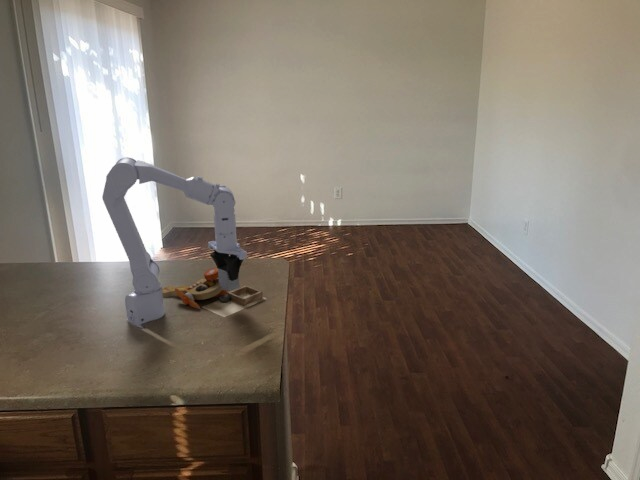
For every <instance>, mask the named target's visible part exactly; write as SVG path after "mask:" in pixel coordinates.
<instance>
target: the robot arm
mask: <svg viewBox="0 0 640 480" xmlns="http://www.w3.org/2000/svg"><path fill="white" fill-rule="evenodd" d="M105 178H106V179H105V182H104V183H105V184H104V186H103V187H104V188H103V192H102V196H101V197H102V198H101V199H102V201H103V204H104V206H105V208H106V210H107V213H108V214H109V218H110V219H111V222H112V225H113V227H114V229H115V231H116V233H117V236H118V238H119V240H120V242H121V244H122V247H123V249H124V252H125V254H126V256H127V258H128V262H129V268H130V272H131V274H132V286H133V291H132V292H130V293H128V294H126V295H125V297H124V304H125V310H126V319H125V320H126V321H127V322H129V323H130V324H132V325H134V326H136V327H137V328H139V329H144V328H145V326H144V325H143V324H145V323H148V322H152V321H155V320H159V319H161V318H162V317H163V316H165V303H164V298H163V294H162V289H163V288H162V283H161V282H160V281H159V280H158V279H159V275H160V272H161V271H160V266H159V264H158V263H157V262H155V261H154V259H152V256H151V254H150V253H149V252H148V251H147V248H146V247H145V243H144V242H143V240H142V237H141V235H140V233H139V230H138V228H137V225H136V223H135V220H134V218H133V216H132V213H131V211H130V209H129V206H128V204H127V200H126V199H125V198H126V195H127V193H128V190H130V189H131V188H133V186H134V185H135V184H136V182H137V181H139V182H138V183H139V185H141V184H145V183H151V182H153V183H154V182H155V183H158V184H161V185H163V186H166V187H170V188H172V189H177V190H180V191H182V193H183V194H184V196H185V198H188V199H189V200H190V199H191V200H193V201H196V202H198V203H202V204H205V205H206V206H213V212H214V215H213V223H214V224H213V225H214V236H215V240H212V241H208V242H207V247H208V249H209V250H214V251H213V252H211V253H210V257H211V258H212V260H213V262H214V263H215V265H216V268H220V267H223V266H226V265H227V266H228V270H229V276H230V280H231V281H234V280H236V279H238V274H240V269H241V266H242V264H243V262H244V260H245V259H247V258H248V252H247V251H246V250H244V249H243V248H241V246H240V245H241V244H240V243H238V239H237V226H236V225H237V224H236V223H237V222H236V214H235V205H236V200H235V196H234V194H233V192H232V190H231V189H230V188H229V187H227V186H225V185H220V184H219V183H215V184H214V183H211V182H209V181H206V180H204V179H203V177H202V176H200V175H198V176H197V177H195V176H191V177H189V178H185V177H182V176H179V175H178V174H175V173H173V172H171V171H169V170H165V169H164V168H161V167H159V166H156V165H154V164H151V163H148V162H146V161H143V160H138V159H137V160H136V159H134V158H133V157H128V156H127V157H122V158H119V159H118V160H117V162H115V164H114V165H113V166H112V167H111V169H110V170H109V172H108V173H107V174H106V177H105Z"/></svg>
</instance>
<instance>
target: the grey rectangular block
mask: <svg viewBox="0 0 640 480" xmlns="http://www.w3.org/2000/svg"><path fill="white" fill-rule="evenodd" d="M239 274H240V273H239ZM239 274H238V279H236V280H234V281H231V280H230V276H229V270H228V266H227V265H226V266H223V267H220V268H218V278H217V279H219V288H220V289H223V290H226V291H227V293H228V292H231V291H233V290H236V289H238V288H240V277H239V276H240V275H239Z"/></svg>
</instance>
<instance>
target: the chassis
mask: <svg viewBox="0 0 640 480" xmlns="http://www.w3.org/2000/svg"><path fill="white" fill-rule="evenodd" d="M267 299H268V298H266V297H264V296H263V291H262V290H259V289H257V288H254V287H252V286H249V285H244V286H242V287H239V288H236V289H234V290H231V291H229V292H228V291H227V294H224V295H221V296H220V297H219V299H218V300H216V301H214V302H212V303H209V304H207V305H204V306H202V307H201V308H203V309H205V310H207V311H209V312H211V313H213V314H216V315H218V316H220V317H223V318H227V317H229V316H232V315H234V314H236V313H238V312H240V311H242V310H245V309H247V308H249V307H252V306H254V305H256V304H258V303H260V302H263V301H265V300H267Z"/></svg>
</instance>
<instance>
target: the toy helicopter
mask: <svg viewBox="0 0 640 480" xmlns="http://www.w3.org/2000/svg"><path fill="white" fill-rule="evenodd" d="M203 276H204V278H199V279H198V280H197V281H196V282H194V283H191V284H190V285H184V286H174V285H169V286H166V287H163V288H162V294H163V299H165V298H168V297H179V298H180V299H181V301H182V303H183V304H184V305H189V307H191V308H195V309H197V310H201V307H200V305H199V304H198V303H197V302H196V301H203V300H208V299H211V298H220V296H221V295H224V294H227V295H228V291H226V290H223V289H220V288H219V278H218V268H217V267H214V268H210V269H208V270H206V271H204V274H203Z"/></svg>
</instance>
